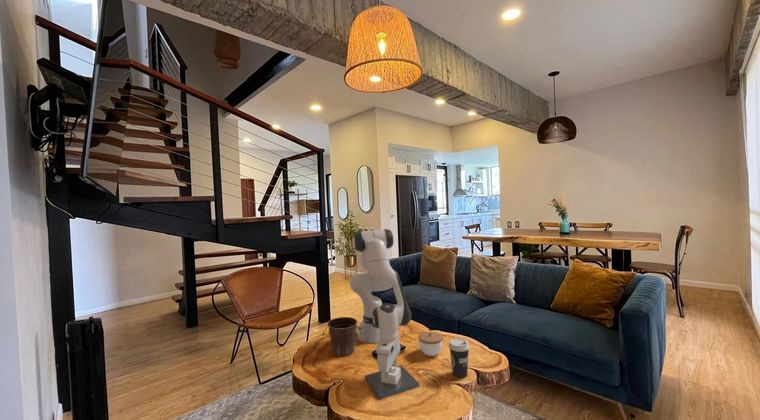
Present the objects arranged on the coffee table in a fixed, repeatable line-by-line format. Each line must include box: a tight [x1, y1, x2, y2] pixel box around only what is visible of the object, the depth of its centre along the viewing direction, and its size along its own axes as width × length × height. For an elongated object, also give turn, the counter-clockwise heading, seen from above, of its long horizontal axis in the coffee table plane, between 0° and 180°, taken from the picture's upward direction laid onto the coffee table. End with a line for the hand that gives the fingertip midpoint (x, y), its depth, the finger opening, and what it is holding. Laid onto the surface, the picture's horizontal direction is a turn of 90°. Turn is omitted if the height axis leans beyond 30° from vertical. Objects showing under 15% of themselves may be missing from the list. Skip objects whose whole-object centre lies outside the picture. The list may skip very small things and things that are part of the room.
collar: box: [381, 365, 401, 385], centre depth 144 cm, size 7×7×4 cm
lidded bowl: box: [417, 330, 444, 357], centre depth 169 cm, size 13×13×11 cm
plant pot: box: [327, 316, 358, 357], centre depth 176 cm, size 16×16×16 cm
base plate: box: [364, 365, 420, 400], centre depth 144 cm, size 17×19×7 cm
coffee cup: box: [448, 337, 471, 379], centre depth 148 cm, size 10×10×15 cm
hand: (390, 371), depth 145 cm, fingers open, 8 cm apart
